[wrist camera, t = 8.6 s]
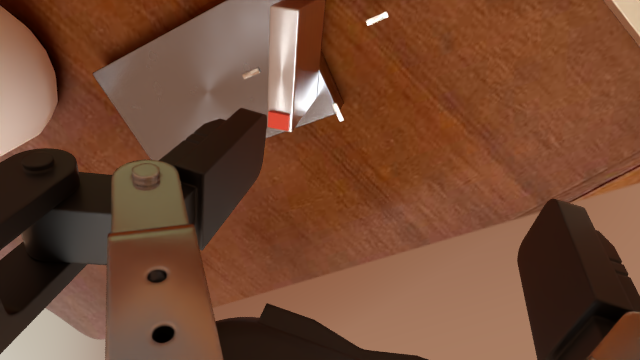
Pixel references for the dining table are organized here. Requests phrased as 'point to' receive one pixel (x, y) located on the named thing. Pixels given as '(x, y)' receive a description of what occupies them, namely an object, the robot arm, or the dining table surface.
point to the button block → (627, 15)
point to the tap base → (204, 76)
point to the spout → (293, 60)
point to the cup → (23, 84)
